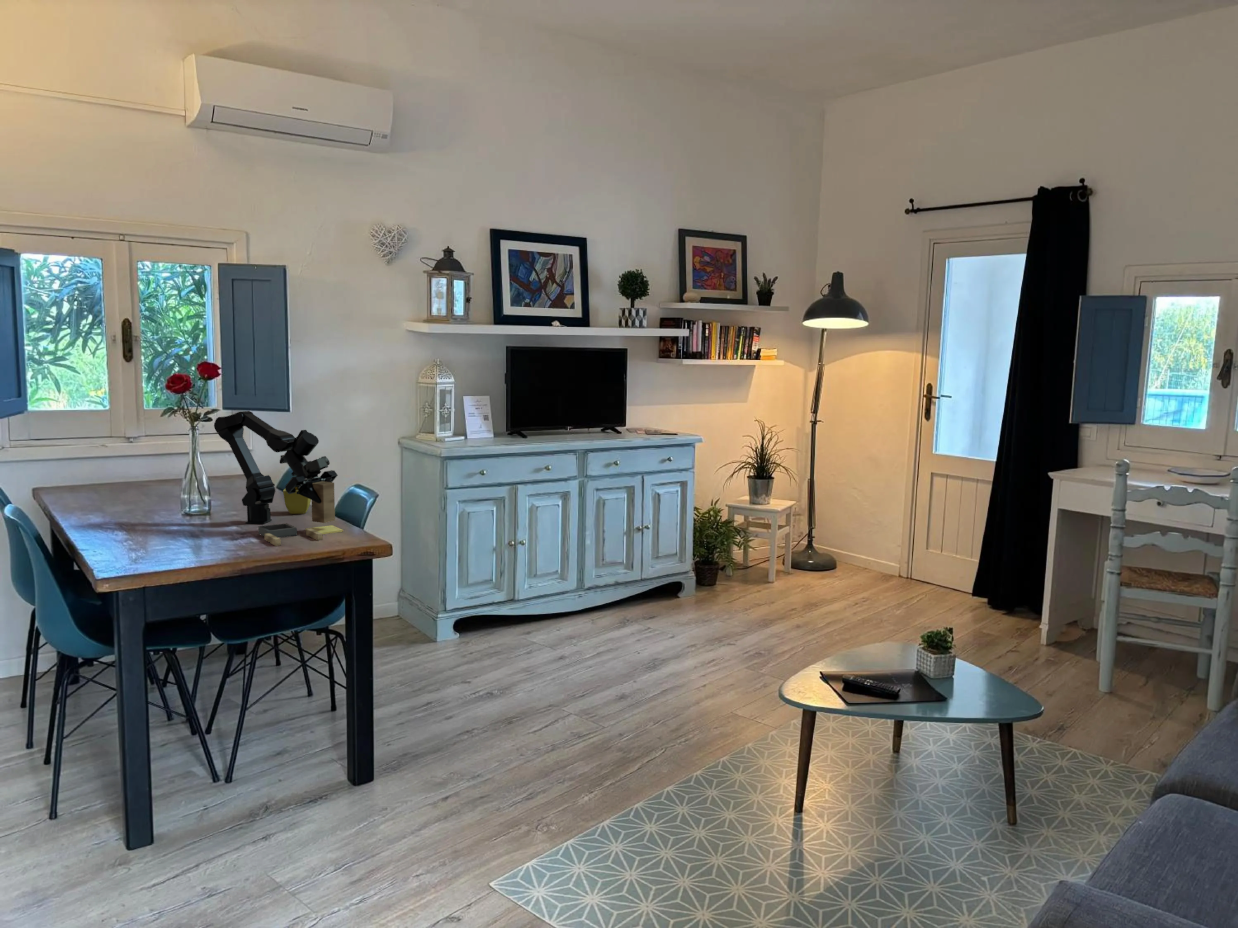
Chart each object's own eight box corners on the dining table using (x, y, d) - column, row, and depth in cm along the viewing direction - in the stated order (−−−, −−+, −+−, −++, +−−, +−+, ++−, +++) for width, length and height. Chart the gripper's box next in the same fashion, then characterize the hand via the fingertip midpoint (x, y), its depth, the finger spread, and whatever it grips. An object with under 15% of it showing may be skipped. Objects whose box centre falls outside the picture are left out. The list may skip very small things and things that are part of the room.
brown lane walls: (264, 539, 279) (264, 533, 278) (310, 534, 288) (310, 528, 288) (275, 545, 271) (275, 539, 271) (322, 539, 280) (322, 533, 280)
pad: (305, 530, 293) (305, 528, 293) (332, 526, 299) (332, 525, 299) (315, 535, 287) (315, 533, 287) (343, 531, 292) (343, 529, 292)
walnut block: (312, 521, 291) (311, 483, 290) (323, 518, 296) (322, 481, 294) (324, 522, 289) (323, 484, 287) (334, 520, 294) (334, 482, 292)
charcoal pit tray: (258, 533, 287) (258, 526, 286) (286, 530, 293) (286, 523, 292) (268, 539, 280) (267, 531, 280) (296, 535, 286) (296, 527, 285)
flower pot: (283, 515, 317) (282, 490, 316) (287, 510, 325) (286, 486, 324) (309, 515, 319) (308, 490, 317) (312, 510, 327) (312, 486, 326)
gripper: (291, 452, 282) (319, 489, 279) (332, 446, 299) (359, 481, 296) (272, 474, 287) (300, 512, 284) (314, 467, 304) (341, 502, 301)
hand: (326, 501), depth 291 cm, fingers closed on walnut block, 5 cm apart
